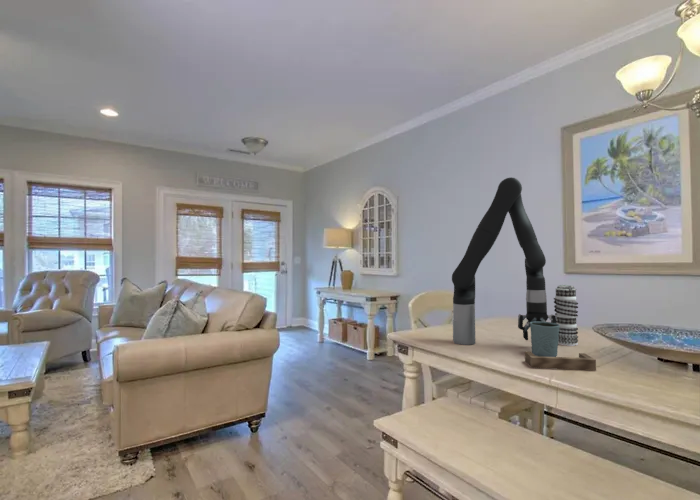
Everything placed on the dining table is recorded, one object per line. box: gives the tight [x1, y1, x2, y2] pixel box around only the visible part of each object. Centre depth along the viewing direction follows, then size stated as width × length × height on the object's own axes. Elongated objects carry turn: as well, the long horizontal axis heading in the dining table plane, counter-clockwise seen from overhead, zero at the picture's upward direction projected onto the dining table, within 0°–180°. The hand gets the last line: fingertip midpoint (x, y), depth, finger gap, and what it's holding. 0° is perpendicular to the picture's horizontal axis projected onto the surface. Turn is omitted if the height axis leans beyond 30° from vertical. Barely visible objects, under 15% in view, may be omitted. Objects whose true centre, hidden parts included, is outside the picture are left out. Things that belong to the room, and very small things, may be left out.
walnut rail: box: [524, 351, 597, 371], centre depth 129 cm, size 20×8×4 cm, turn 80°
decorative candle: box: [553, 284, 579, 347], centre depth 160 cm, size 9×9×25 cm
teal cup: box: [529, 321, 560, 357], centre depth 143 cm, size 10×10×12 cm
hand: (537, 340), depth 152 cm, fingers open, 8 cm apart
